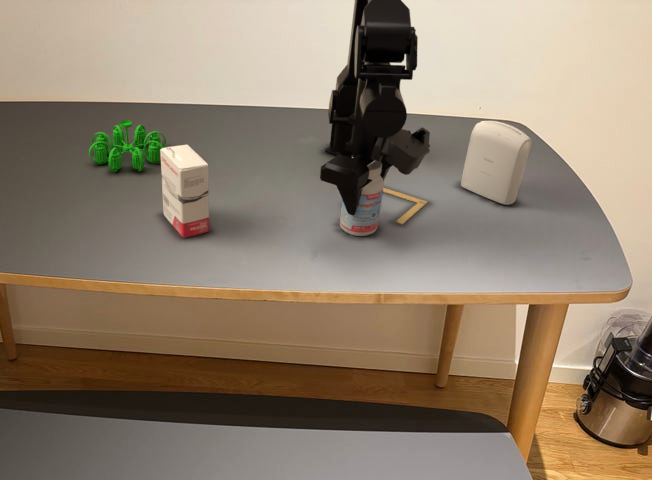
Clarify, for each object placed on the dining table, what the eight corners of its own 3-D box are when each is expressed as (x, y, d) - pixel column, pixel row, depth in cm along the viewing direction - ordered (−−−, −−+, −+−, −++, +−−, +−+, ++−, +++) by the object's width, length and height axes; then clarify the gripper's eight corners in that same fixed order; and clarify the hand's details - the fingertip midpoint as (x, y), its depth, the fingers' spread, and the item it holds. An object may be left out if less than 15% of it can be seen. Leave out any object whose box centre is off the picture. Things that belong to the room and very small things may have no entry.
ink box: (211, 232, 118) (210, 163, 111) (182, 239, 117) (179, 169, 109) (189, 208, 124) (187, 141, 117) (162, 214, 123) (158, 147, 115)
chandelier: (78, 149, 142) (74, 114, 137) (152, 136, 146) (149, 101, 142) (103, 182, 131) (98, 146, 127) (180, 167, 136) (179, 131, 132)
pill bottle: (353, 241, 116) (361, 176, 109) (332, 223, 120) (338, 159, 113) (385, 231, 118) (395, 167, 111) (362, 214, 123) (370, 150, 115)
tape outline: (346, 205, 125) (346, 204, 125) (373, 185, 131) (373, 184, 131) (402, 224, 120) (402, 223, 120) (427, 202, 126) (427, 201, 126)
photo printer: (455, 186, 131) (470, 118, 123) (470, 179, 133) (486, 112, 125) (505, 208, 124) (524, 138, 116) (520, 200, 127) (540, 131, 119)
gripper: (394, 145, 97) (378, 247, 107) (453, 103, 109) (434, 199, 119) (322, 124, 103) (313, 223, 113) (386, 87, 114) (372, 180, 124)
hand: (361, 206), depth 117 cm, fingers closed on pill bottle, 6 cm apart
